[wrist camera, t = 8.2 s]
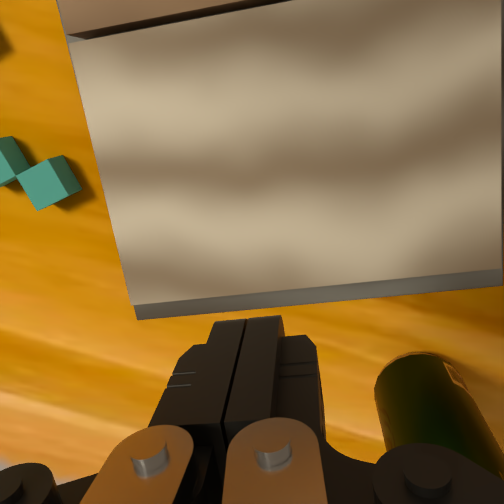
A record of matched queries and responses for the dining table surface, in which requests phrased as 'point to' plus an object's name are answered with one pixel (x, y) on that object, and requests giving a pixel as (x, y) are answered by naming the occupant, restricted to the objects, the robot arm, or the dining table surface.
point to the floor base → (214, 3)
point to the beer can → (433, 410)
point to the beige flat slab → (299, 145)
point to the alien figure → (37, 175)
